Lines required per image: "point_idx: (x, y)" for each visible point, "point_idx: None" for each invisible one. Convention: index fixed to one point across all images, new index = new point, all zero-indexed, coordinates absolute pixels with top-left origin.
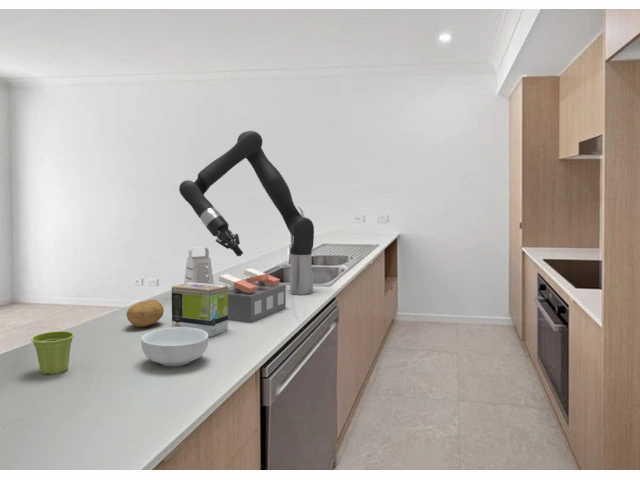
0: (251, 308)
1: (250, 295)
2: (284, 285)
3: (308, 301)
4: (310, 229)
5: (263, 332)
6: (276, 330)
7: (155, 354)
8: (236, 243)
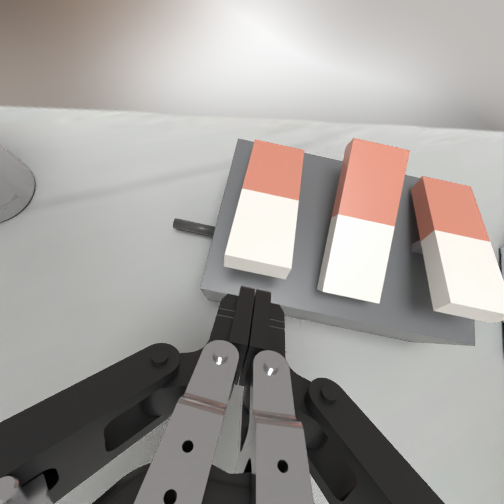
0: None
1: None
2: (247, 141)
3: (131, 145)
4: None
5: (472, 172)
6: (445, 153)
7: None
8: (221, 362)
